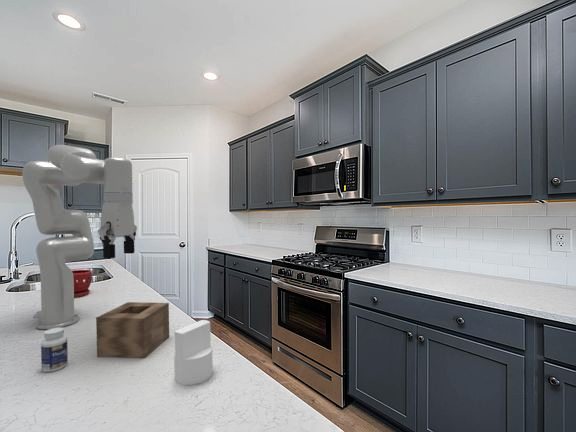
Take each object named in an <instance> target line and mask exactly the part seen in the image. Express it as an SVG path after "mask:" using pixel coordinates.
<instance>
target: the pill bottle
mask: <svg viewBox="0 0 576 432" xmlns="http://www.w3.org/2000/svg"><path fill="white" fill-rule="evenodd" d="M64 334H65V328H64V327H60V328H53V329H46V330H45V331H44V339H43V340H42V342H41V344H40V348H41V349H40V352H41V353H40V355H41V356H40V357H41V359H40V360H41V361H40V363H41V371H42V372H44V373H50V372H51V373H53V372H56V371H59V370H61V369H63V368H65V367H66V366H67V365H68V361H69V360H68V355H69V354H68V337H67V336H66V335H64Z"/></svg>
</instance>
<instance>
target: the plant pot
mask: <svg viewBox="0 0 576 432" xmlns="http://www.w3.org/2000/svg"><path fill="white" fill-rule="evenodd" d="M71 270H72V269H71ZM72 272H73V278H74V298H80V297H84V296H86V295H88V294H89V293H90V291H91V290H90V289H89V288H90V286H91V284H92V279H93V270H90V269H75V270H72ZM83 295H84V296H83ZM79 296H80V297H79Z"/></svg>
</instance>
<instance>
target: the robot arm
mask: <svg viewBox="0 0 576 432" xmlns="http://www.w3.org/2000/svg"><path fill="white" fill-rule="evenodd" d="M46 157H47V160H48V161H46V160H35V161H34V160H32V161H29V162H27V163H26V164H25V165H24V166H23V168H22V182H23V184H24V185H23V186H24V187H25V189H26V191H27V193H28V194H29V196H30V198H31V202H32V206H33V212H34V217H35V222H36V227H37V229H38V232H39V233H40V234H42V235H45V236H55V235H58V236H57V237H48V238H44V239H42V240H40V242H38V243H37V245H36V248H35V250H36V252H35V253H36V256H37V260H38V266H39V274H40V276H39V277H40V308H41V310H37V312H36V313H35V314H33V317H32V318H33V319H38V321H37V322H36V323H35V328H36V329H37V330H49V329H53V328H64V327H68V326H71V325H73V324H75V323H77V322H78V321H79V320H80V315H79V314H75V297H74V278H73V272H72V269H71V268H70V267H69V266H68V264H66V263H70V262H76V261H85V260H88V259H90V258H91V257H93V255H94V253H95V244H94V237H93V234H92V228H91V224H90V221H89V220H90V219H89V217H88V215H87V214H86V213H85V212H84V211H83V210H80V209H65V208H64V206H63V201H62V198H61V196H60V195H59V194H58V192H56V190H54V189H53V188H52V187H51V186H50V185H53V186H66V187H68V186H69V187H76V186H79V185H81V184H82V183H83V184H84V183H85V184H98V185H103V202H104V203H103V204H102V207H101V208H102V209H101V214H100V227H99V228H98V230H97V233H98V237H99V240H100V242H101V245H102V253H103V254H102V257H103V258H104V259H115V258H116V244H115V240H116V238H121V237H122V238H123V239H124V240H123V254H135V241H136V236H137V229H138V226H137V225H136V224H135V218H134V217H135V215H134V214H135V213H134V209H133V202H134V200H133V199H134V198H133V196H134V195H133V163H132V161H131V160H129V159H127V158H122V157H107V158H105V159H98V158H97V155H96V154H95V152H94V151H93V150H91V149H89V148H84V147H79V146H73V145H72V146H71V145H67V144H56V145H52V146H51V147H50V148H49V149H48V150H47V153H46ZM59 235H72V236H59Z"/></svg>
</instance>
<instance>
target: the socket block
mask: <svg viewBox="0 0 576 432" xmlns="http://www.w3.org/2000/svg"><path fill="white" fill-rule="evenodd" d="M169 304H170V303H169V302H145V301H144V302H139V301H138V302H135V301H134V302H132V301H131V302H129V301H128V302H125V303H123V304H121V305H119V306H117V307H115V308H113V309H111V310H109V311H107V312H105V313H103V314H101V315H99V316H97V317H95V319H96V321H95V323H96V357H98V358H99V357H100V358H101V357H102V358H125V359H126V358H129V359H130V358H131V359H132V358H133V359H145V358H147V357H148V356H149V355H150V354H151V353H152V352H154V351H155V350H156V349H157V348H158V347H159V346H160V345H162V344H163V343H164V342H165V341H166V340H167V339H169V337H170V308H169V307H170V305H169Z"/></svg>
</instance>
